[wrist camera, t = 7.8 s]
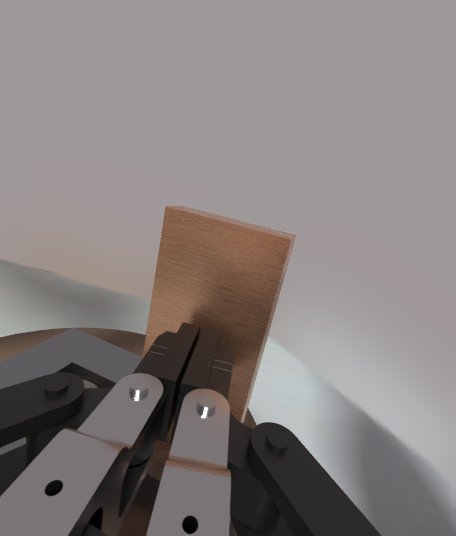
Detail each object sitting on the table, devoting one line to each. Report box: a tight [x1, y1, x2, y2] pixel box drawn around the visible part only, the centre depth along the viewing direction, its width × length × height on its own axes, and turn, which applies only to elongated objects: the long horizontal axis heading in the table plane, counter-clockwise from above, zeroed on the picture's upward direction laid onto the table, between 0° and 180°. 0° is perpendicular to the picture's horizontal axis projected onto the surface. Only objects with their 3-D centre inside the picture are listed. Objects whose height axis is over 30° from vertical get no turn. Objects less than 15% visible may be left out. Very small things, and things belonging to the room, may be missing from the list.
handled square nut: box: [0, 206, 296, 536], centre depth 15 cm, size 17×11×14 cm
